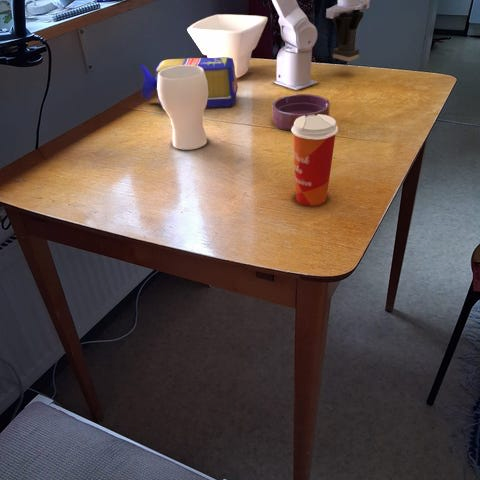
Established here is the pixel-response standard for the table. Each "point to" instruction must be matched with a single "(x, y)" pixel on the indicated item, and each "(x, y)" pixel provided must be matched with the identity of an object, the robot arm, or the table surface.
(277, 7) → the robot arm
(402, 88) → the table surface
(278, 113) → the plum bowl
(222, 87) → the bread
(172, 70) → the cup
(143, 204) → the table surface
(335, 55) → the brush
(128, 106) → the table surface
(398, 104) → the table surface
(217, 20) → the bowl
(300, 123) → the paper cup
